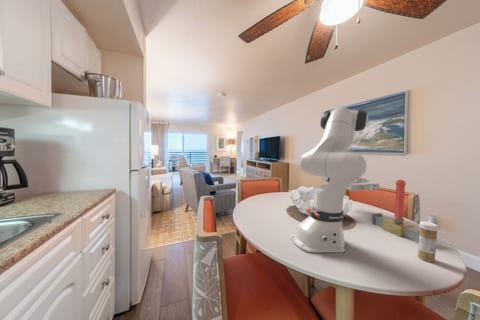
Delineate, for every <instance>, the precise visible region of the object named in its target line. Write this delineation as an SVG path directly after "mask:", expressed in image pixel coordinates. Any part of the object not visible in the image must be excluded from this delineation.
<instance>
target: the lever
mask: <svg viewBox="0 0 480 320" xmlns="http://www.w3.org/2000/svg"><path fill="white" fill-rule="evenodd" d="M395 185H396V187H395V200H394V201H395V202H394V204H395V205H394V217H393V218H392V219H393V221H394V222H403V221H405V218H404V205H405V189H406V185H407V183H406V181H405V180H404V179H398V180H396V182H395Z"/></svg>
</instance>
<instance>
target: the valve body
mask: <svg viewBox="0 0 480 320" xmlns="http://www.w3.org/2000/svg"><path fill="white" fill-rule="evenodd" d="M371 224H372V225H376V226H378V227H380V228H382V230H384V231H386V232H388V233H391V234H393V235H395V236H398V237H400V238H402V237H404V238H406V239H408V240H410V241H412V242H413V241H414V242H415V243H417V244H418V245H419V235H420V228H417V227H415V225H414V224H413V223H409V222H407V221H405V220H404V221H403V222H394V221H393V218H389V217H387V216H384V215H383V213H382V212H374V213H371Z"/></svg>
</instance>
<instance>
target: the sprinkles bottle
mask: <svg viewBox="0 0 480 320" xmlns="http://www.w3.org/2000/svg"><path fill="white" fill-rule="evenodd" d="M419 229H420V235H419V244H418V246H417V247H418V252H417V257H418V258H419V259H421V260H422V261H425V262H428V263H436V253H437V235H438V231H439V225H438V224H436V223H434V222H430V221H423V220H422V221H419Z"/></svg>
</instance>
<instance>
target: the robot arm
mask: <svg viewBox="0 0 480 320" xmlns="http://www.w3.org/2000/svg"><path fill="white" fill-rule="evenodd" d="M319 124H320V128H321V129H323V130H324V131H323V134H322V136H321V139H320V140H319V142H318V143H317V144H316V145H315V146H314V147H312V148H311V149H310V150H309V151H307V152H304V153H303V154H302V155H301V157H300V158H299V161H298V163H299V164H298V165H299V168H300V170H301V172H302V173H304V174H307V175H310V176H314V177H321V179H322V180H323V181H324V182H327V183H326V184H325V183H324V184H325V185H324V184H322V185H320V186H318V187H317V188H316V189H315V190H314V198H313V199H314V203H313V205H314V206H312V209H311V208H309V207H306V208H305V211H306V213H308V214H309V216H307V217H306V218H305V219H304V220H302V221H301V222H300V223H298V224H297V226H296V229H295V232H294V233H291V234H290V240H291V241H292V242H293V244H294V245H296V246H297V247H298V248H299V249H300V250H302V251H304V252H306V253H345V251H346V249H345V247H346V240H345V237H344V229H343V220H344V209H343V204H344V197H345V193H346V191H350V192H359V191H371V192H373V191H377V190H379V189H380V183H379V182H377V181H372V180H369V179H368V180H367V178H362V176H364V174H365V173H366V170H367V161H366V160H365V158H364V157H363V155H361V154H360V153H355V152H349V151H346V150H348V149H349V148H350V147H351V146H352V144H353V142H354V137H355V132H360V131H363V130H364V129H365V128H366V127H367V126H368V124H369V115H368V112H367V111H366V110H363V109H362V110H361V109H358V110H357V109H356V110H355V109H349V108H347V107H344V106H343V107H337V108H335V109H334V110H330V109H329V110H326V111H324V112H322V114H321V116H320V119H319Z"/></svg>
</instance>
